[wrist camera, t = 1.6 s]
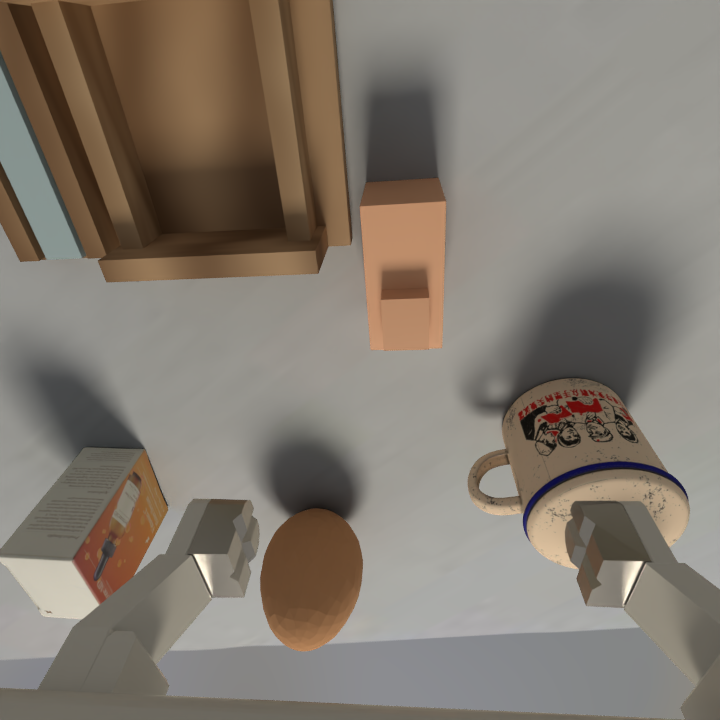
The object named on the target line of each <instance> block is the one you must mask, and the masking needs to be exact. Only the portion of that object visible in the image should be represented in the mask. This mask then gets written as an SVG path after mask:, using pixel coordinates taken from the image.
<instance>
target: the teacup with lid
mask: <svg viewBox="0 0 720 720" xmlns="http://www.w3.org/2000/svg"><path fill="white" fill-rule="evenodd" d="M502 435H503V440H504V443H505V447H506V449H503V450H498V451H494V452H490V453H488V454H486V455H484V456H482V457H481V458H479V459H478V460H477V461H476V462H475V464H474V465H473V466H472V468H471V470H470V473H469V477H468V490H469V494H470V497H471V499H472V501H473V503H474V504H475V505H476V506H477V507H478V508H480V509H481V510H483V511H485V512H487V513H490V514H494V515H512V514H519V513H524V515H523V527H524V531H525V534H526V536H527V538H528V539H529V541H530V542H531V543H532V545H533V546H534V547H535V548H536V549H537V550H538V551H539V552H540V553H541V554H542V555H543V556H545V557H546V558H548V559H549V560H551V561H553V562H555V563H557V564H560V565H563V566H566V567H570V568H575V569H578V568H577V567H576V566H575V565H574V564H573V563H572V562H571V561H570V559H569V556H568V553H567V549H566V544H565V528H566V524H567V522H568V521H570V520H571V519H572V518H573V517H572V514H571V512H570V510H571V506H572V504H573V503H574V502H575V501H641V502H642V503H643V504H644V505H645V506H646V508H647V509H648V511H649V513H650V515H651V516H652V518H653V520H654V522H655V523H656V525H657V527H658V529H659V530H660V532H661V534H662V536H663V537H664V539H665V541H666V543H667V544H668V546H669V547H670V546H672V545H673V544H674V543H675V542H676V541H677V540H678V539H679V538H680V536H681V535H682V534H683V532H684V530H685V528H686V526H687V524H688V520H689V514H690V507H689V502H688V496H687V493H686V491H685V489H684V488H683V486H682V485H681V483H680V482H679V481H678V480H677V479H676V478H675V477H673V476H672V475H671V474H669V473H668V472H667V470H666V469H665V467H664V465H663V464H662V462H661V461H660V459H659V458H658V456H657V455H656V453H655V452H654V450H653V449H652V447H651V445H650V444H649V442H648V441H647V439H646V438H645V436H644V435H643V433H642V432H641V430H640V429H639V427H638V425H637V424H636V422H635V421H634V419H633V418H632V416H631V415H630V413H629V412H628V410H627V409H626V407H625V405H624V404H623V402H622V401H621V399H620V398H619V397H618V396H617V394H616V393H615V392H613V391H612V390H611V389H610V388H608V387H607V386H605V385H603V384H600V383H598V382H595V381H592V380H587V379H580V378H567V379H559V380H554V381H550V382H547V383H544V384H541V385H539V386H536V387H534V388H532V389H531V390H529V391H527V392H526V393H525V394H523V395H522V396H521V397H519V398H518V399H517V400H516V401H515V402H514V403H513V404H512V406H511V407H510V408H509V410H508V412H507V414H506V416H505V418H504V421H503V426H502ZM508 464H510V465H511V469H512V473H513V476H514V480H515V483H516V487H517V491H518V494H519V496H515V497H507V498H494V497H490V496H488V495H486V494H484V493H482V492H481V491H480V489H479V483H480V481H481V479H482V477H483V476H484V474H485V473H486V472H487V471H489V470H490V469H492V468H495V467H498V466H503V465H508Z"/></svg>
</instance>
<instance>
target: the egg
mask: <svg viewBox="0 0 720 720" xmlns="http://www.w3.org/2000/svg"><path fill="white" fill-rule="evenodd" d="M362 570H363V559H362V553H361V549H360V545H359V541H358V539H357V537H356V535H355V533H354V532H353V530H352V529H351V527H350V525H349V524H348V523H347V522H346V521H345V520H344V519H343V518H342V517H340V516H339V515H337V514H336V513H334V512H332V511H329V510H327V509H319V508H314V509H308V510H305V511H302V512H299V513H297V514H295V515H294V516H292V517H290V518H289V519H288V520H287V521H286V522H285V523H284V524H282V525H281V526H280V527H279V528H278V530H277V531H276V532H275V534H274V536H273V537H272V539H271V541H270V543H269V545H268V547H267V550H266V553H265V555H264V560H263V565H262V571H261V577H260V590H261V597H262V603H263V609H264V612H265V615H266V618H267V621H268V624H269V626H270V628H271V630H272V631H273V633H274V634H275V636H276V637H277V638H278V639H279V640H280V641H281V642H282V643H283V644H285V645H286V646H288V647H289V648H291V649H293V650H297V651H310V650H314V649H317V648H319V647H321V646H322V645H324V644H326V643H327V642H329V641H330V640H331V639H333V638H334V637H335V636H336V635H337V633H338V632H339V631H340V630H341V628H342V627H343V626H344V624H345V623H346V621H347V619H348V618H349V616H350V614H351V612H352V611H353V609H354V607H355V604H356V602H357V599H358V596H359V592H360V587H361V582H362Z"/></svg>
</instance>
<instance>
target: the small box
mask: <svg viewBox="0 0 720 720" xmlns="http://www.w3.org/2000/svg"><path fill="white" fill-rule="evenodd" d="M167 511H168V507H167V505H166V503H165V501H164V499H163V496H162V494H161V491H160V489H159V486H158V483H157V481H156V478H155V475H154V473H153V470H152V467H151V465H150V462H149V459H148V455H147V453H146V450H145V449H119V448H93V447H85V448H83V450H82V451H81V452H80V453H79V455H78V456H77V457H76V458H75V459H74V461H73V462H72V463H71V464H70V466H69V467H68V468H67V469H66V470H65V472H64V473H63V474H62V475H61V476H60V478H59V479H58V480H57V481H56V482H55V484H54V485H53V486H52V487H51V488H50V490H49V491H48V492H47V493H46V495H45V496H44V497H43V498H42V499H41V501H40V502H39V503H38V504H37V505H36V507H35V508H34V509H33V510H32V511H31V513H30V514H29V515H28V516H27V518H26V519H25V520H24V521H23V522H22V524H21V525H20V526H19V527H18V529H17V530H16V531H15V532H14V533H13V535H12V536H11V537H10V538H9V540H8V541H7V542H6V543H5V544H4V546H3V547H2V548H1V549H0V562H1V563H2V564H3V565H5V566H6V567H7V568H8V570H9V571H10V572H11V574H12V575H13V576H14V577H15V579H16V580H17V581H18V583H19V584H20V585H21V586H22V588H23V589H24V590H25V592H26V593H27V594H28V596H29V597H30V598H31V600H32V601H33V602H34V603H35V605H36V606H37V608H38V610H39V612H40V613H41V614H42V616H45V617H57V618H73V619H83V618H84V617H86V616H87V615H88V614H89V613H90V612H92V611H93V610H94V609H95V608H96V607H98V606H99V605H100V604H101V603H102V602H104V601H105V600H106V599H107V598H108V597H110V596H111V595H112V594H113V593H114V592H115V591H117V590H118V589H119V588H120V587H121V586H123V585H124V584H125V583H126V582H127V581H129V580H130V579H131V578H132V577H133V576H134V574H135V572H136V570H137V569H138V566H139V565H140V563H141V561H142V559H143V557H144V555H145V553H146V551H147V549H148V548H149V546H150V544H151V542H152V540H153V538H154V536H155V534H156V532H157V530H158V528H159V527H160V525H161V523H162V521H163V519H164V517H165V515H166V513H167Z"/></svg>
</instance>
